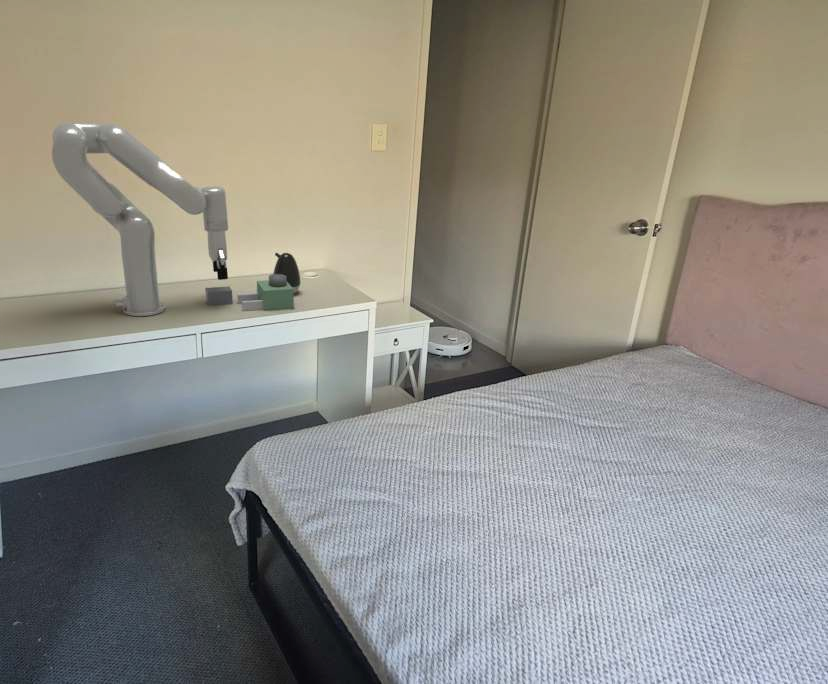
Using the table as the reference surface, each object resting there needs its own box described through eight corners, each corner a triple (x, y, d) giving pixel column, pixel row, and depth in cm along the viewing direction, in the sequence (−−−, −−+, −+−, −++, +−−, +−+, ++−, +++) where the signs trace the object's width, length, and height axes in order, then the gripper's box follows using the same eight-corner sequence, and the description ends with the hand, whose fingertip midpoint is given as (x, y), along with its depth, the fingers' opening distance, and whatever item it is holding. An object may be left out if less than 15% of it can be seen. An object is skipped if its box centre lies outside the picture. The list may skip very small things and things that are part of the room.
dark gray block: (208, 306, 202) (207, 292, 201) (206, 301, 206) (205, 287, 205) (232, 304, 206) (232, 290, 204) (229, 299, 210) (229, 286, 208)
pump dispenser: (285, 287, 228) (285, 248, 223) (306, 292, 223) (306, 253, 218) (266, 292, 220) (265, 252, 214) (287, 298, 215) (287, 257, 210)
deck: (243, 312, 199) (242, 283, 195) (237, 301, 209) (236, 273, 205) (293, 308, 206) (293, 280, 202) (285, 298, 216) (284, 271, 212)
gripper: (200, 220, 202) (205, 269, 209) (207, 231, 188) (212, 283, 194) (223, 219, 205) (227, 267, 212) (232, 230, 191) (236, 281, 197)
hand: (220, 275), depth 203 cm, fingers open, 9 cm apart
